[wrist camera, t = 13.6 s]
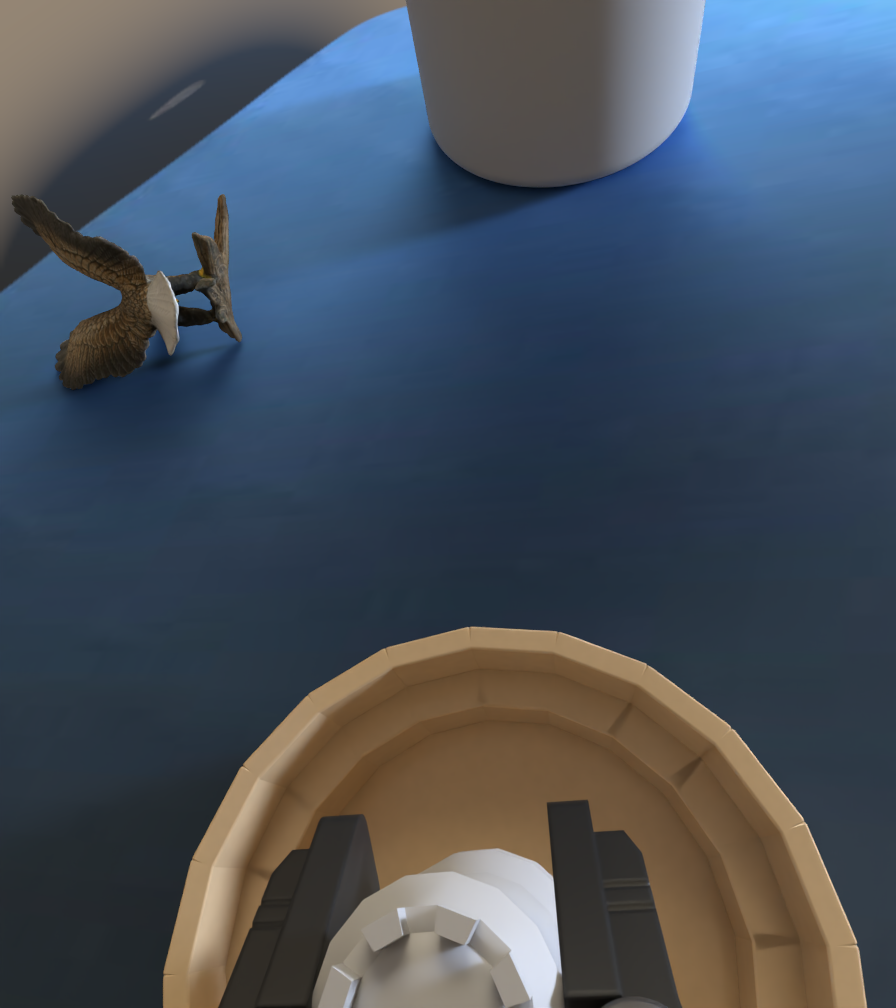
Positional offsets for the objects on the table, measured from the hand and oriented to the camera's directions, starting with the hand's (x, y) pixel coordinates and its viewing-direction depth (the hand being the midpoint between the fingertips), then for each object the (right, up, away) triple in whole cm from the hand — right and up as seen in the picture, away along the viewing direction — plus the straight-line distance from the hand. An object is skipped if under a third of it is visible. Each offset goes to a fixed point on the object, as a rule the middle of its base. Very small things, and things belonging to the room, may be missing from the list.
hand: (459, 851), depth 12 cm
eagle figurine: (-13, +13, +19) cm, 27 cm away
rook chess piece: (+1, -4, +3) cm, 5 cm away
